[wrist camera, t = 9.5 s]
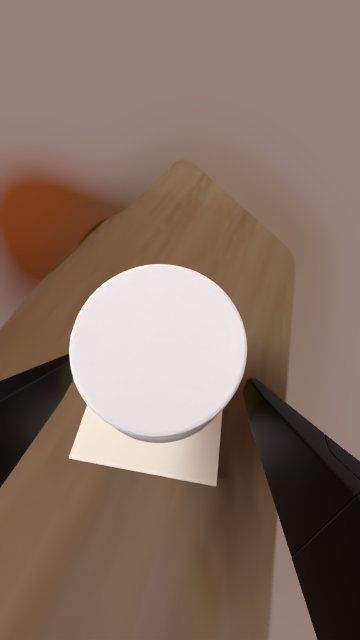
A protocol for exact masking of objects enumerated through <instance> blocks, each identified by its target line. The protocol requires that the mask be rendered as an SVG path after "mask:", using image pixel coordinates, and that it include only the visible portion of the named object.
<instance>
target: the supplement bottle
mask: <svg viewBox="0 0 360 640" xmlns="http://www.w3.org/2000/svg"><path fill="white" fill-rule="evenodd" d="M69 357H70V366H71V372H72V375H73V379H74V382H75V384H76V387H77V389H78V391H79V392H80V394H81V396H82V398H83V399H84V401H85V402H86V404H87V405H88V406H89V407H90V408H91V409H92V410H93V412H94V413H95V414H97V415H98V416H99V417H100V418H101V419H103V420H104V421H105V422H106V423H108V424H110V425H111V426H113V427H114V428H115V429H117V430H118V431H120V432H122V433H123V434H125V435H127V436H129V437H131V438H134V439H136V440H140V441H144V442H151V443H168V442H174V441H178V440H182V439H185V438H187V437H189V436H192V435H194V434H195V433H197V432H199V431H201V430H202V429H203V428H205V427H206V426H207V425H208V424H209V423H210V422H212V421H213V419H214V418H215V417H216V416H217V415H218V414H219V413H220V412H221V411H222V410H223V409H224V407H225V406H226V405H227V404H228V403H229V401H230V400H231V399H232V397H233V395H234V394H235V392H236V391H237V389H238V386H239V384H240V382H241V379H242V377H243V373H244V369H245V365H246V358H247V338H246V333H245V329H244V325H243V322H242V319H241V317H240V315H239V313H238V311H237V309H236V307H235V306H234V304H233V302H232V301H231V299H230V298H229V297H228V296H227V294H226V293H225V292H224V291H223V290H222V289H221V288H220V287H219V286H218V285H217V284H215V283H214V282H213V281H211V280H210V279H208V278H207V277H205V276H203V275H202V274H200V273H197V272H195V271H193V270H190V269H187V268H183V267H179V266H174V265H164V264H153V265H145V266H140V267H136V268H133V269H130V270H127V271H125V272H123V273H120V274H118V275H116V276H115V277H113V278H111V279H110V280H108V281H107V282H105V283H104V284H102V285H101V286H100V287H99V288H98V289H97V290H96V291H95V292H94V293H93V294H92V295H91V296H90V298H89V299H88V300H87V301H86V303H85V304H84V306H83V307H82V309H81V311H80V313H79V314H78V316H77V319H76V321H75V324H74V327H73V330H72V334H71V338H70V348H69Z"/></svg>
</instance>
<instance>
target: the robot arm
mask: <svg viewBox="0 0 360 640" xmlns="http://www.w3.org/2000/svg"><path fill="white" fill-rule="evenodd" d="M73 380H74V379H73V375H72V372H71V366H70V357H69V354H67V355H64V356H62V357H59V358H57V359H54V360H52V361H49V362H47V363H44V364H42V365H39V366H37V367H34V368H32V369H29V370H27V371H24V372H22V373H19V374H17V375H14V376H11V377H9V378H6V379H4V380H1V381H0V487H1V486H2V484H3V483H4V482H5V480H6V479H7V477H8V476H9V475H10V473H11V472H12V470H13V469H14V467H15V466H16V465H17V463H18V462H19V460H20V459H21V457H22V456H23V455H24V453H25V452H26V450H27V449H28V448H29V446H30V445H31V443H32V442H33V440H34V439H35V438H36V436H37V435H38V433H39V432H40V430H41V429H42V428H43V426H44V425H45V423H46V422H47V421H48V419H49V418H50V416H51V415H52V413H53V412H54V411H55V409H56V408H57V406H58V405H59V403H60V402H61V400H62V399H63V397H64V395H65V394H66V392H67V390H68V388H69V387H70V385H71V383H72V381H73ZM243 396H244V401H245V405H246V410H247V415H248V420H249V424H250V427H251V430H252V433H253V437H254V440H255V443H256V446H257V449H258V452H259V456H260V459H261V462H262V465H263V468H264V471H265V475H266V478H267V481H268V484H269V487H270V490H271V494H272V497H273V500H274V503H275V506H276V509H277V513H278V516H279V519H280V522H281V525H282V528H283V532H284V534H285V538H286V541H287V544H288V547H289V551H290V554H291V556H292V561H293V563H294V567H295V570H296V573H297V576H298V580H299V583H300V586H301V589H302V592H303V595H304V598H305V602H306V605H307V608H308V611H309V614H310V617H311V621H312V624H313V627H314V630H315V633H316V636H317V640H360V461H359V460H357V459H356V458H355V457H353V456H352V455H351V454H349V453H348V452H347V451H346V450H344V449H343V448H342V447H340V446H339V445H338V444H337V443H335V442H334V441H333V440H332V439H330V438H329V437H328V436H327V435H324V433H323V432H322V431H320V430H319V429H318V428H317V427H315V426H314V425H313V424H312V423H310V422H309V421H308V420H307V419H305V418H304V417H303V416H302V415H301V414H299V413H298V412H297V411H296V410H294V409H293V408H292V407H291V406H289V405H288V404H287V403H286V402H284V401H283V400H282V399H281V398H279V397H278V396H277V395H276V394H274V393H273V392H272V391H271V390H269V389H268V388H267V387H266V386H264V385H263V384H262V383H261V382H259V381H258V380H257V379H254V378H248V379H247V381H246V384H245V386H244V389H243Z"/></svg>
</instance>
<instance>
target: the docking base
mask: <svg viewBox="0 0 360 640" xmlns="http://www.w3.org/2000/svg"><path fill="white" fill-rule="evenodd" d="M221 422H222V411H221V412H220V413H219V414H218V415H217V416H216V417H215V418H214V419H213V421H212V422H210V423H209V424H208V425H207V426H206V427H205V428H203V429H202V430H201V431H199V432H197V433H195V434H194V435H192V436H189V437H187V438H185V439H182V440H178V441H174V442H168V443H151V442H144V441H140V440H136V439H134V438H131V437H129V436H127V435H125V434H123V433H122V432H120V431H118V430H117V429H115V428H114V427H113V426H111V425H110V424H108V423H106V422H105V421H104V420H103V419H101V418H100V417H99V416H98V415H97V414H95V413H94V412H93V410H92V409H91V408H90V407H89V406H88V405H87V407H86V410H85V413H84V416H83V419H82V422H81V424H80V427H79V430H78V433H77V436H76V439H75V441H74V444H73V447H72V450H71V453H70V456H69V458H70V459H75V460H80V461H85V462H91V463H96V464H101V465H106V466H112V467H117V468H122V469H127V470H132V471H138V472H143V473H148V474H153V475H159V476H164V477H169V478H174V479H179V480H185V481H190V482H195V483H200V484H206V485H211V486H216V485H217V472H218V460H219V447H220V435H221Z"/></svg>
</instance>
